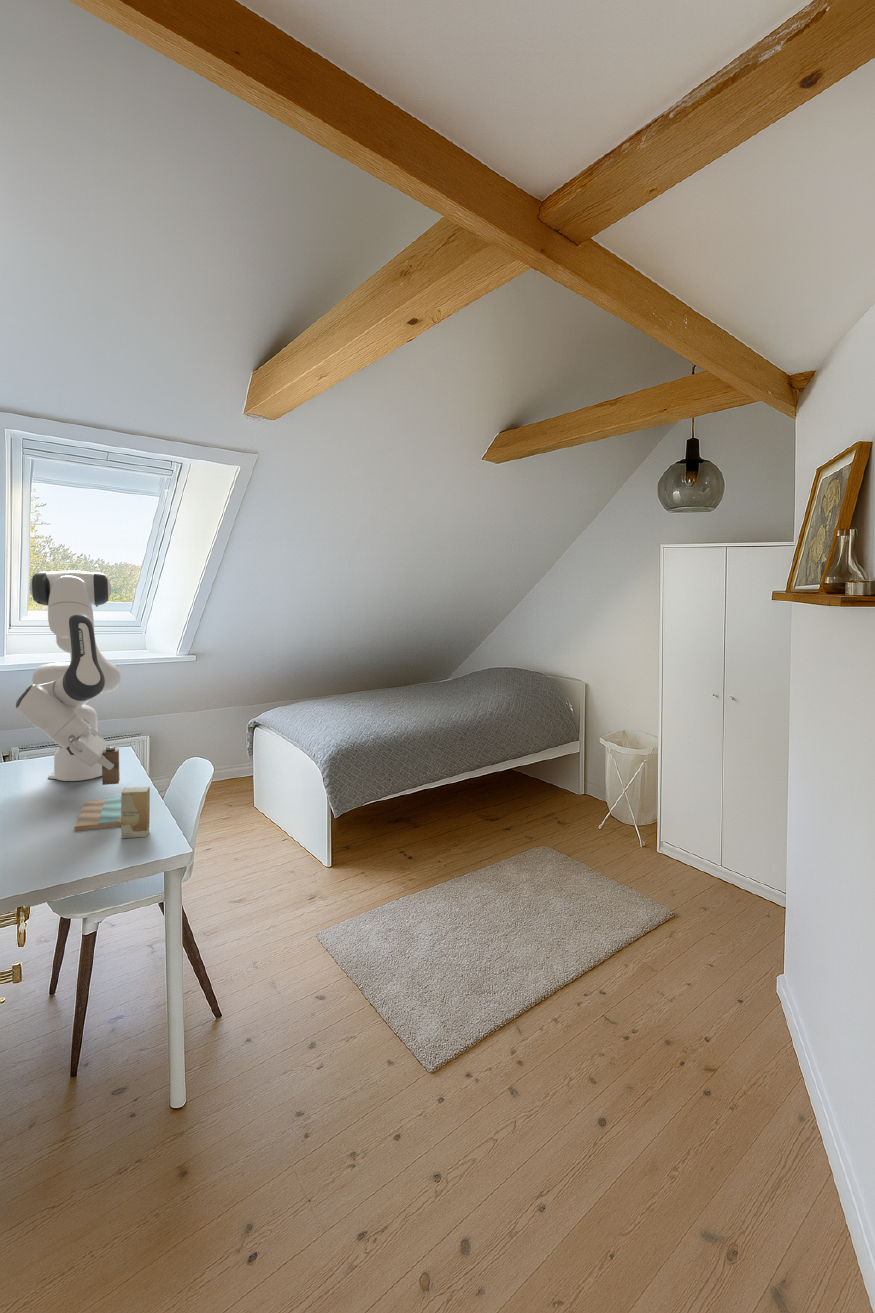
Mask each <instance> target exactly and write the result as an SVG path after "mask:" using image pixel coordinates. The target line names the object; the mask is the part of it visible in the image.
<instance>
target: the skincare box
mask: <svg viewBox="0 0 875 1313" xmlns="http://www.w3.org/2000/svg"><path fill="white" fill-rule="evenodd" d="M150 791H151V787H150V786H141V787H140V786H136V787H124V788H123V789H122V791H121V796H120V797H121V826H120V838H121V839H126V838H129V839H130V838H147V837H148V834H149V833H150V807H151V806H150V805H151V802H150V801H151V800H150V798H151V797H150V796H151V794H150Z"/></svg>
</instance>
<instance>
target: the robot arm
mask: <svg viewBox="0 0 875 1313" xmlns="http://www.w3.org/2000/svg"><path fill="white" fill-rule="evenodd" d="M29 593H30V595H31V598H32V600H33V601H34V602H35V603H37V604H38V605H42V606H47V622H48V627H49V629H50V631H51V632H52V633H53V634H54V635H55V638H56V640H55V642H56V644H57V647H59V649H61V650H62V651H64V652H66V653H68V654H70V661H67V662H64V661H61V662H50V663H44V664H40V665H39V666H37V667H36V668H35V670H34V672H33V673H32V677H31V682H32V684H31V685H29V686H28V687H27V688H26V689H25V691H23V693H22V694H21V695H20V696H19V697H18V699H17V700H16V703H15V709H16V710H17V711H18V713H19V714H20V715H21V716H22V717H23V718H24V719H25V720H26V721H27V722H28V723H30V724H31V725H32V726H34V728H36V729H38V730H41V731H43V732H44V733H45V734H46V735H47V737H48V738H49V739H50V740H51V741H53V742H54V743H56V744H57V745H58V747H59V748H58V750H56V752H55V753H54V754H53V755H54V756H53V761H54V762H53V771H52V772H51V773H49V774H48V779H50V780H51V779H52V780H54V779H55V780H58V781H63V782H68V781H69V782H77V781H78V782H79V781H85V780H91V779H96V778H98V777H99V778H100V777H102V766H104V767H106V768H107V769H108V770H111V769H112V768H113V767H114V763H112V762H111V761H109V760H107V759H106V758H105V757H104V756H103V755H102V754H103V751H104V749H106V747H107V744H108V742H107V741H106V740H105V738H104V737H103V736H102V735H101V734H99V733H98V732H99V730H98V713H97V711H96V709H95V708H93V707H92V706H90V705H88V704H87V703H88V702H89V701H90V700H92V699H94V698H95V697H97V696H98V695H99V694H100V695H101V694H106V693H111V692H114V691H115V690H116V689H117V688H118V687H119V685H120V683H121V680H122V678H121V672H120V670H119V668H118V667H117V666H116V664H114V663H112V662H111V661H109V659H107V658H105V656H104V655H103V654H102V653H101V651H100V650H99V648H98V645H97V641H96V636H95V635H96V634H95V620H94V611H93V605H94V606H95V608H98V607H99V606H101V605H104V604H106V603H108V601H109V599H110V597H111V595H112V584H111V582H110V580H109V578H108V576H107V575H106V574H105V573H103V572H97V571H94V572H89V571H84V570H82V571H81V570H60V571H58V570H57V571H56V570H55V571H46V570H45V571H39V572H36V573H34V575H32V577H31V580H30V583H29Z"/></svg>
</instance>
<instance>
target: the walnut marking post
mask: <svg viewBox="0 0 875 1313" xmlns="http://www.w3.org/2000/svg"><path fill="white" fill-rule="evenodd" d="M102 755H103V756H104V757H105V758H106V759H107V760H109V761H111V762H112V763H114V767H113V768H112V769H111V770H108V769H107V768H106V767H104V766H102V776H101V778H102V779H101V780H102V781H101V782H102V783H101V784H102V786H104V785H105V786H107V785H119V783H120V779H121V778H120V748H119V747H118V748H116V746H106V747H105V749H104V751H103V754H102Z"/></svg>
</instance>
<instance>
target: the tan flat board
mask: <svg viewBox="0 0 875 1313" xmlns="http://www.w3.org/2000/svg"><path fill="white" fill-rule="evenodd" d="M116 827H117V828H118V827H121V796H116V797H107V798H105V799H93V800H84V802H83V804H82V807H81V809H80V812H79V814H78V816H77V818H76V822H75V824H74V830H73V831H74V832H77V831H78V832H80V831H89V830H97V829H98V830H99V829H105V828H106V829H107V828H116Z"/></svg>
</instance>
